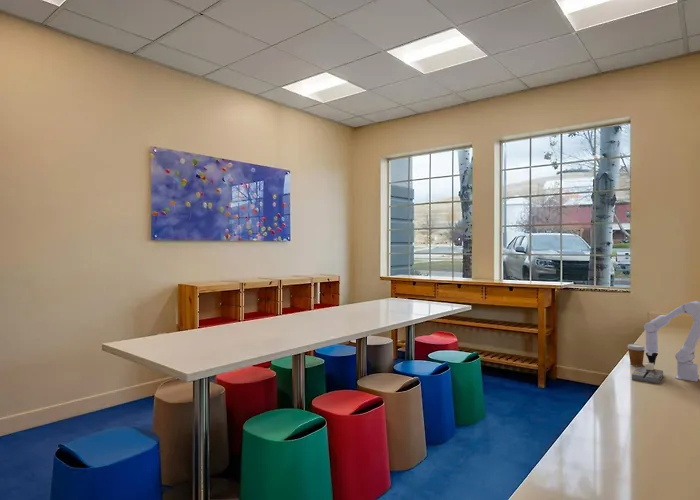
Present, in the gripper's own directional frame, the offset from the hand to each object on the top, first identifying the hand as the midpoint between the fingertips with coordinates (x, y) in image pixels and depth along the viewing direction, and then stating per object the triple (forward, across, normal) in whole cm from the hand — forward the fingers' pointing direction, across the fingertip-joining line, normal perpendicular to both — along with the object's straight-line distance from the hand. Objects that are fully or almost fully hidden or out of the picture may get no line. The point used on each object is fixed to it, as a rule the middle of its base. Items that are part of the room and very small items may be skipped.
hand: (652, 365), depth 255 cm
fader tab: (+2, +8, 0) cm, 8 cm away
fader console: (+4, +14, 0) cm, 15 cm away
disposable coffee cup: (+4, -12, -10) cm, 16 cm away
